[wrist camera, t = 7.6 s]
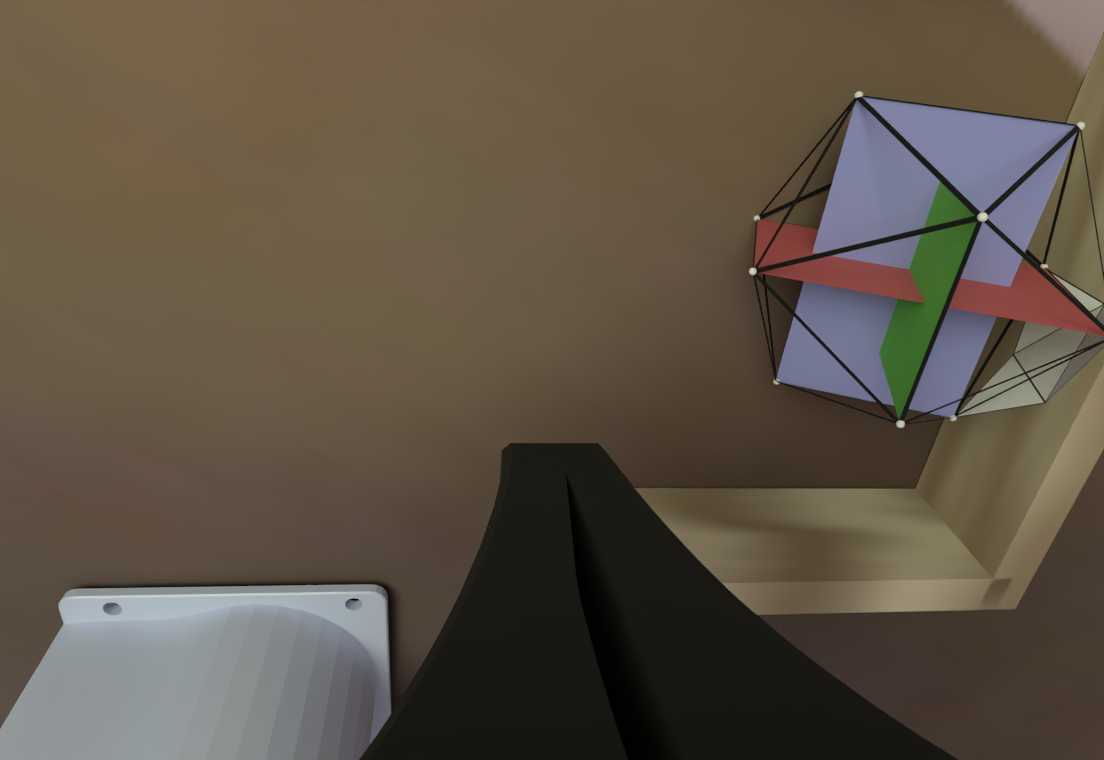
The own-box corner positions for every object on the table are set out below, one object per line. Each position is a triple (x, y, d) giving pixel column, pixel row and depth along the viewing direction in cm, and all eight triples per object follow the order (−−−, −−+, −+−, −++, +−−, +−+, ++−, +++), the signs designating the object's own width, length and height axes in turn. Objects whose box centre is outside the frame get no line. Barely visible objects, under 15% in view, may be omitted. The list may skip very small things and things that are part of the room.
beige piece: (563, 518, 23) (582, 618, 19) (663, -300, 13) (733, -392, 10) (936, 517, 24) (1015, 608, 21) (1256, -209, 15) (1495, -261, 12)
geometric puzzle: (640, 373, 18) (978, 558, 13) (695, 74, 14) (1176, 172, 10) (792, 311, 22) (1084, 431, 18) (860, 71, 19) (1244, 137, 14)
